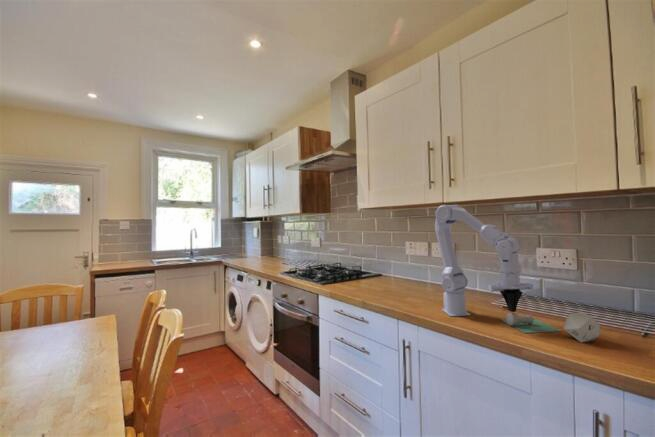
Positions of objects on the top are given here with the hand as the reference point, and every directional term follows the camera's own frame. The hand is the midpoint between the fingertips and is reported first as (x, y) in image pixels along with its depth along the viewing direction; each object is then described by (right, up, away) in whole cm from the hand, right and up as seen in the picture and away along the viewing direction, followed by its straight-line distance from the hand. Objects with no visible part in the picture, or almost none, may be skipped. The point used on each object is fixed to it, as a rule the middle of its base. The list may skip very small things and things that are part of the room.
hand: (512, 311), depth 106 cm
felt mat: (+6, -5, 0) cm, 8 cm away
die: (+13, -5, -14) cm, 20 cm away
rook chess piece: (-1, -3, 0) cm, 3 cm away
